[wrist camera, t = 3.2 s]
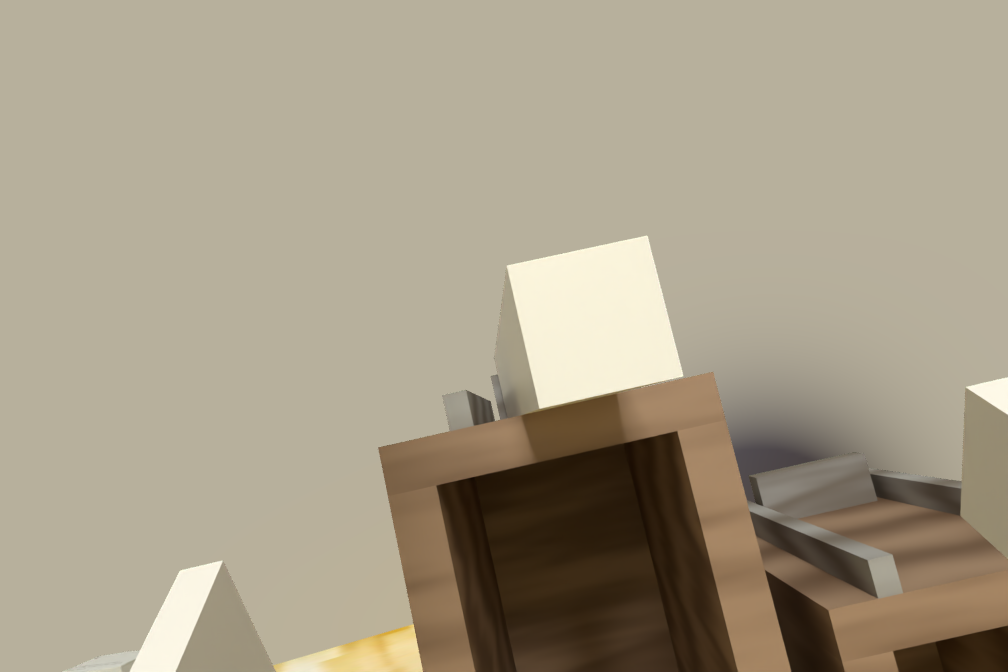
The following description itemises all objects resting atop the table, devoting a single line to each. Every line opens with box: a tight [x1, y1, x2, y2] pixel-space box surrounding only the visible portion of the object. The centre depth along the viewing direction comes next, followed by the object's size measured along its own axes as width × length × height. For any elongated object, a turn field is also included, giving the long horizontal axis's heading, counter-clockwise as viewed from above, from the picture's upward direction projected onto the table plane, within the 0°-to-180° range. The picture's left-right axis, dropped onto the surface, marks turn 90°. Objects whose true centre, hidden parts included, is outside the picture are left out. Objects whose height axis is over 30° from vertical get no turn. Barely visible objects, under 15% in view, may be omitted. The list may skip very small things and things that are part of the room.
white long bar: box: [494, 236, 683, 418], centre depth 32 cm, size 26×4×4 cm, turn 2°
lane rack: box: [379, 372, 1008, 672], centre depth 37 cm, size 20×30×33 cm, turn 88°
